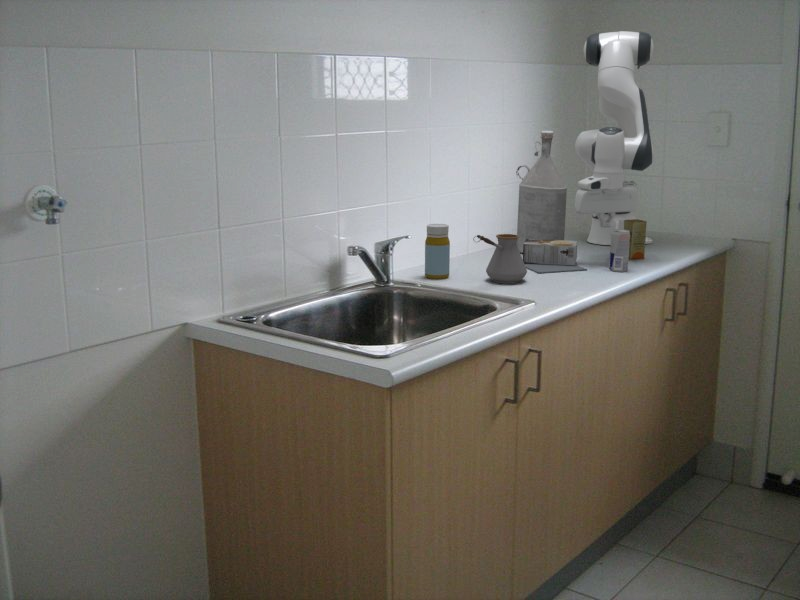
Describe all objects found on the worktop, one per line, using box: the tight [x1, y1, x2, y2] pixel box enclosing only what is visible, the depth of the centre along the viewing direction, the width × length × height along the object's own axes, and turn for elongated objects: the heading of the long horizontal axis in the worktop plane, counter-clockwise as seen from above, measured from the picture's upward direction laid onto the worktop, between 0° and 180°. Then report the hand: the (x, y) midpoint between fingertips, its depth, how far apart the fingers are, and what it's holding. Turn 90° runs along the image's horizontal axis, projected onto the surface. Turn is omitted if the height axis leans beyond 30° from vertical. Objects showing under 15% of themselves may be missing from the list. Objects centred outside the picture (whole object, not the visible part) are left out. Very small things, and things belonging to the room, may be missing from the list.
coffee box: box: [522, 239, 578, 266], centre depth 274 cm, size 9×6×16 cm
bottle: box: [424, 223, 451, 280], centre depth 253 cm, size 7×7×15 cm
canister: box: [516, 130, 568, 254], centre depth 288 cm, size 13×17×40 cm
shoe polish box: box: [624, 218, 647, 261], centre depth 283 cm, size 5×5×12 cm
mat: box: [524, 263, 588, 275], centre depth 269 cm, size 16×16×1 cm
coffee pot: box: [473, 233, 528, 284], centre depth 245 cm, size 21×12×15 cm, turn 141°
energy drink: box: [608, 229, 630, 273], centre depth 263 cm, size 5×5×12 cm
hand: (605, 227), depth 272 cm, fingers closed
